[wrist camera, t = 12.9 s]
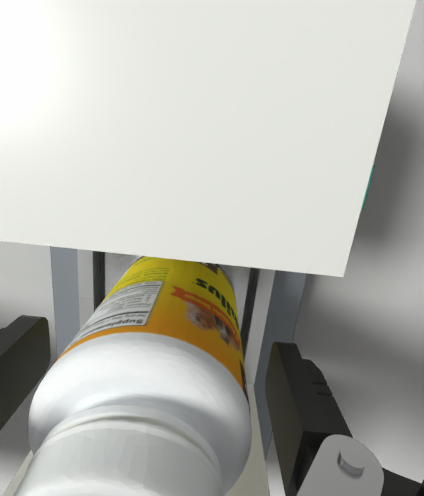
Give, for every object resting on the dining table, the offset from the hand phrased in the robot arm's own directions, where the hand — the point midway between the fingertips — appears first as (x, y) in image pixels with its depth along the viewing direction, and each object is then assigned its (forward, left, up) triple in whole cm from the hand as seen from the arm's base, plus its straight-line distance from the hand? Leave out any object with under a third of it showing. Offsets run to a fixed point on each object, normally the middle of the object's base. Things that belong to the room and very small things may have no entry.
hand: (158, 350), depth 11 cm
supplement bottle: (0, 0, -5) cm, 5 cm away
